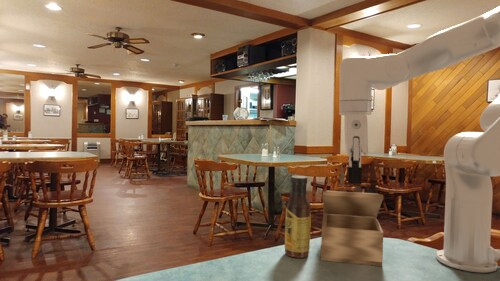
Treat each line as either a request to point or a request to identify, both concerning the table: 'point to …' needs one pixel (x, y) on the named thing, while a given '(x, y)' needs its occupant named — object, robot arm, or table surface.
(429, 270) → the table surface
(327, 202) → the lid
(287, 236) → the sauce bottle
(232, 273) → the table surface
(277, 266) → the table surface
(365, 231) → the box
